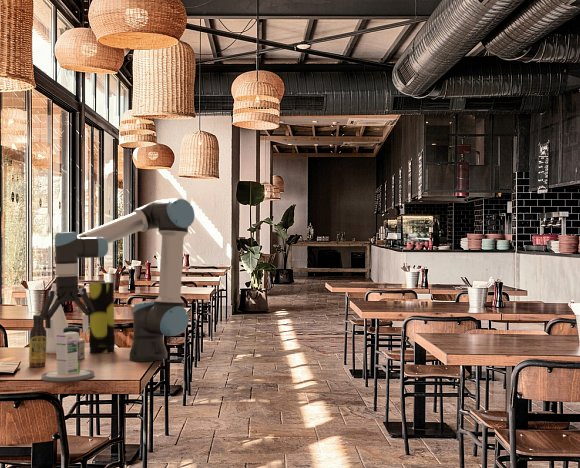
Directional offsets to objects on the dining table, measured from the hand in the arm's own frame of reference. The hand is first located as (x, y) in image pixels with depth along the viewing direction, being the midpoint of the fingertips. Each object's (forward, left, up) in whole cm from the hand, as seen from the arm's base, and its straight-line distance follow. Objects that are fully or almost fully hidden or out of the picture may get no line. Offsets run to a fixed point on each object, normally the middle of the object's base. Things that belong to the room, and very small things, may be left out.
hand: (68, 335), depth 271 cm
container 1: (+11, -43, -15) cm, 47 cm away
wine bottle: (+23, -62, -15) cm, 68 cm away
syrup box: (0, 0, -14) cm, 14 cm away
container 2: (+3, -61, -15) cm, 63 cm away
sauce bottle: (+19, -25, -15) cm, 35 cm away
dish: (0, 0, -15) cm, 15 cm away
